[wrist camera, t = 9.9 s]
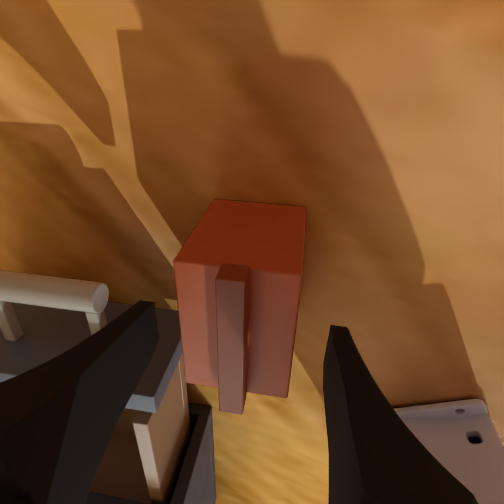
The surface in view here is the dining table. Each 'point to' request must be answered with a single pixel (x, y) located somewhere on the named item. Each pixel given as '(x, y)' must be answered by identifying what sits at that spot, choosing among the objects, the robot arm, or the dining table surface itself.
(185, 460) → the cabinet
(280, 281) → the ridged terracotta block
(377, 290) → the dining table surface
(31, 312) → the drawer
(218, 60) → the dining table surface
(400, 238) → the dining table surface
